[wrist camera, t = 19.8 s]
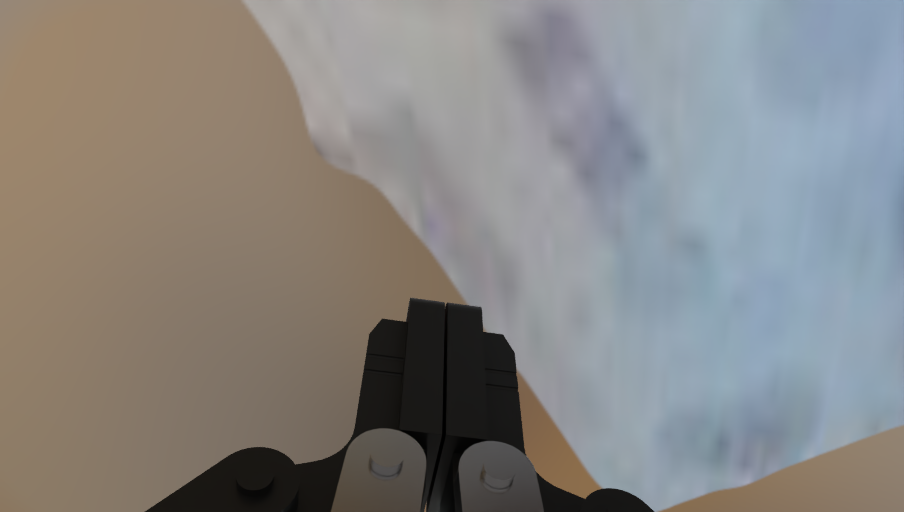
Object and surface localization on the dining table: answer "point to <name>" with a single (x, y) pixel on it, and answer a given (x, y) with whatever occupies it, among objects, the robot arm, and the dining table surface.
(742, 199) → the dining table surface
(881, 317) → the dining table surface
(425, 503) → the robot arm
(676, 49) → the dining table surface
